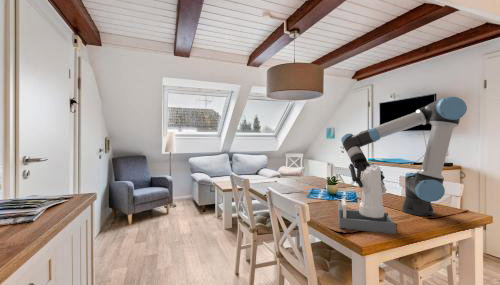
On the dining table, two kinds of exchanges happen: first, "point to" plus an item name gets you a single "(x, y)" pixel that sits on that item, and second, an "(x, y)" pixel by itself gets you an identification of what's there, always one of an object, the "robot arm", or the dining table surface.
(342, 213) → the plate
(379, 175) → the decorative vase
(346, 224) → the grey tray
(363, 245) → the dining table surface
